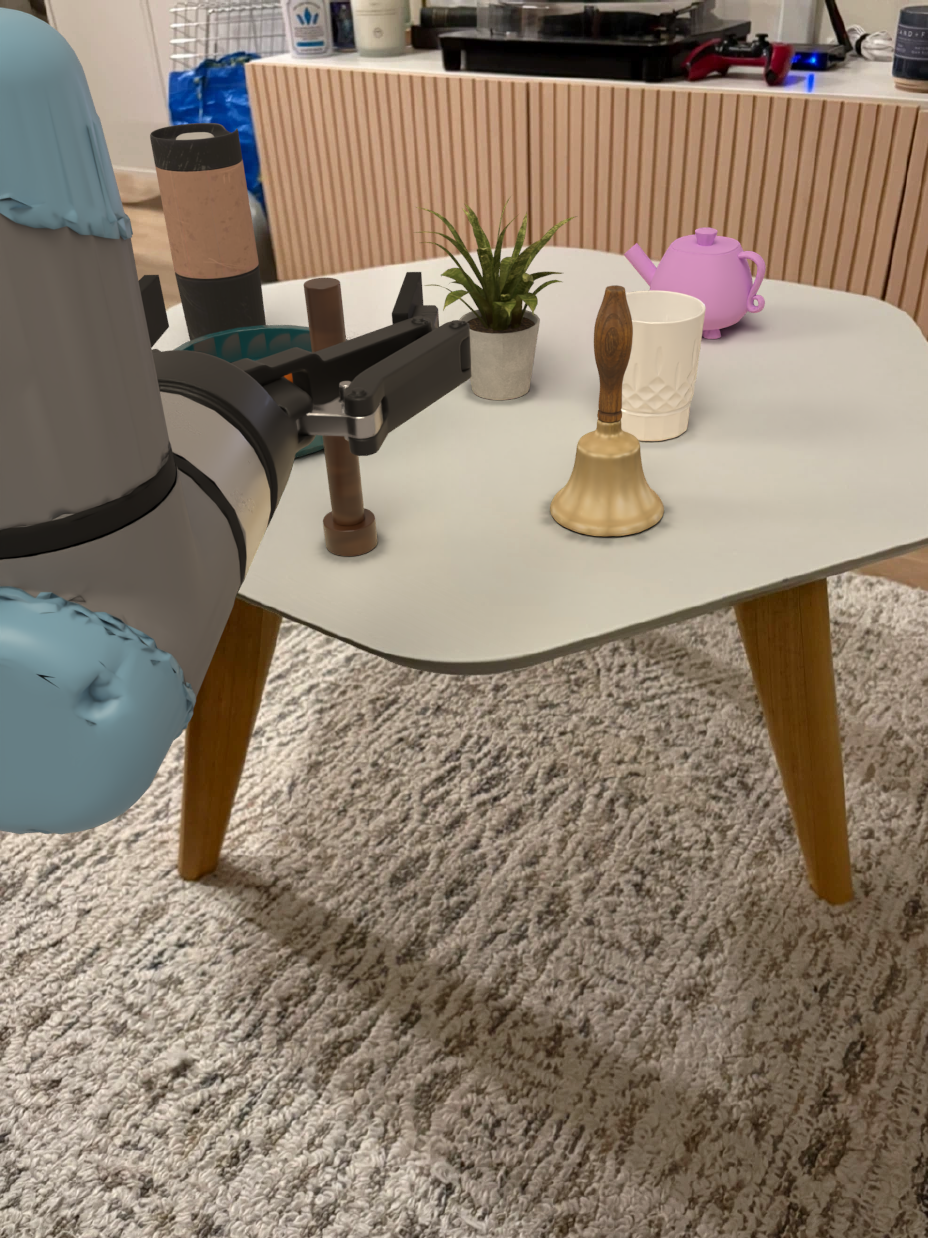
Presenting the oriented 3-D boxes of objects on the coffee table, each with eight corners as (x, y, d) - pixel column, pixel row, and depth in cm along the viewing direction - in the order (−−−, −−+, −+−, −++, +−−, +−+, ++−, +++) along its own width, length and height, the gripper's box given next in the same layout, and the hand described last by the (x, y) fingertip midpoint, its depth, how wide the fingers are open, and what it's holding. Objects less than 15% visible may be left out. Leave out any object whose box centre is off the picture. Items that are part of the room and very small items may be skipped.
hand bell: (531, 497, 82) (530, 280, 73) (628, 475, 85) (640, 263, 75) (581, 547, 76) (587, 317, 67) (685, 522, 79) (705, 297, 69)
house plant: (378, 404, 97) (360, 208, 87) (450, 352, 107) (441, 171, 97) (526, 431, 92) (525, 226, 82) (587, 373, 102) (592, 184, 92)
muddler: (321, 556, 76) (286, 292, 65) (330, 531, 79) (297, 273, 68) (373, 556, 76) (346, 291, 65) (380, 531, 78) (355, 273, 68)
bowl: (152, 466, 88) (135, 394, 84) (202, 390, 100) (190, 324, 96) (346, 466, 87) (338, 393, 83) (373, 390, 99) (366, 324, 96)
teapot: (743, 351, 106) (755, 251, 100) (601, 328, 111) (604, 232, 106) (777, 319, 113) (789, 223, 107) (641, 298, 119) (646, 207, 113)
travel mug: (182, 372, 104) (136, 140, 92) (203, 343, 110) (162, 122, 98) (262, 372, 103) (227, 139, 91) (279, 343, 110) (247, 121, 98)
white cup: (663, 453, 88) (673, 329, 82) (582, 430, 92) (585, 309, 86) (712, 420, 93) (723, 301, 87) (632, 399, 97) (638, 283, 91)
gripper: (-125, 571, 43) (68, 371, 60) (514, 571, 42) (526, 367, 59) (-202, 386, 38) (30, 227, 56) (511, 381, 37) (524, 220, 55)
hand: (286, 299), depth 57 cm, fingers open, 13 cm apart
